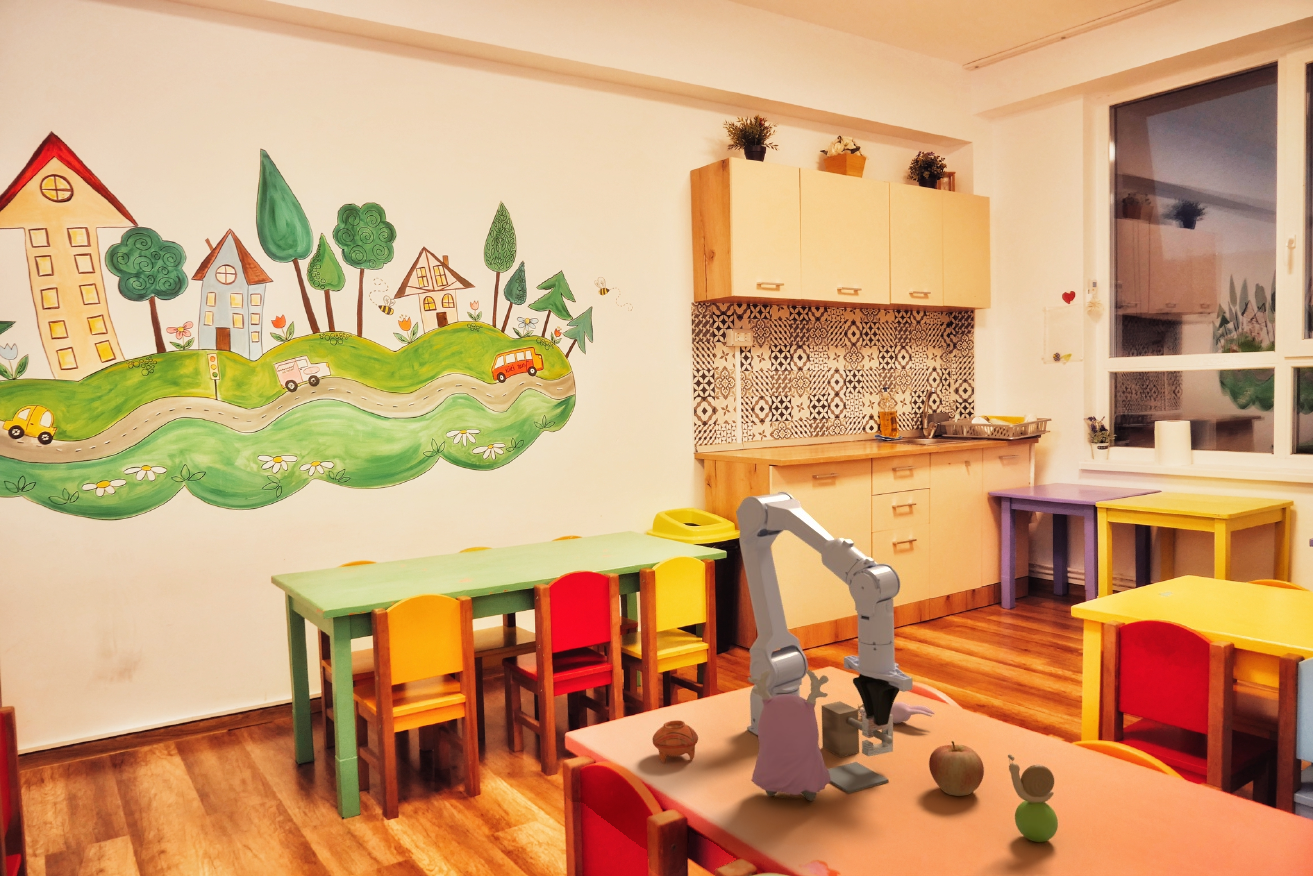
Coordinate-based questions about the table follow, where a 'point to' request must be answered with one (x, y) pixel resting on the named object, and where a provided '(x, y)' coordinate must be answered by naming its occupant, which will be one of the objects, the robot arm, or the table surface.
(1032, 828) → the snail figurine
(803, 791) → the toy character
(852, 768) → the mat
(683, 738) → the pot
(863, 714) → the rabbit figure
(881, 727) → the link
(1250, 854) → the table surface
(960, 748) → the apple
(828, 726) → the stand
